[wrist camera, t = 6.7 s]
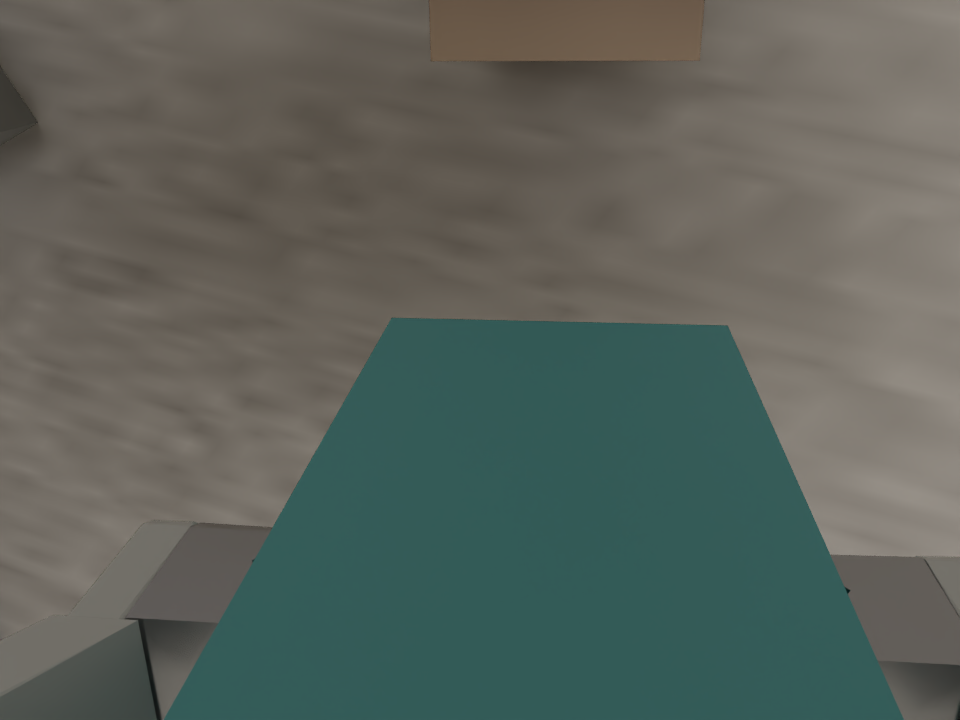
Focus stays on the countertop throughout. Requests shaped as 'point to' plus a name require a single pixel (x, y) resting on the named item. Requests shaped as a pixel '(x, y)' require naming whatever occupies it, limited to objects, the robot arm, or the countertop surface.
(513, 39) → the domino
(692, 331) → the domino
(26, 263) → the countertop surface
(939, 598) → the robot arm
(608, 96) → the countertop surface
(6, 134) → the grey cube
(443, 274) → the countertop surface
